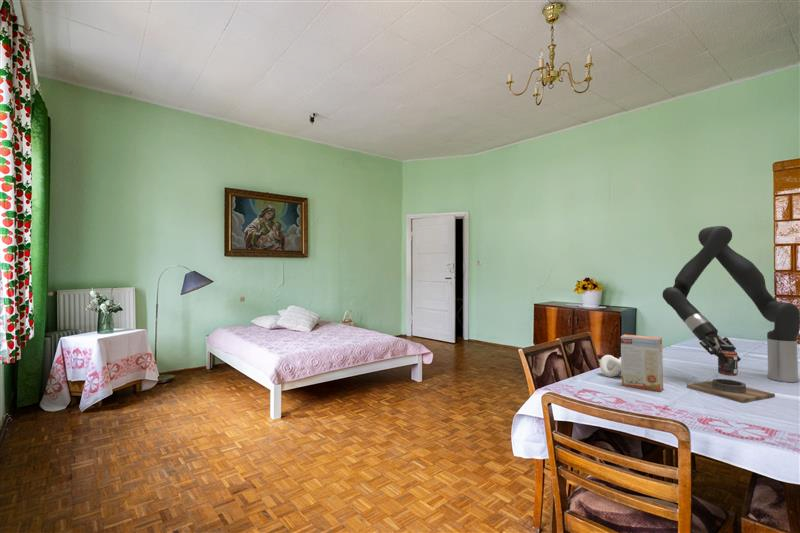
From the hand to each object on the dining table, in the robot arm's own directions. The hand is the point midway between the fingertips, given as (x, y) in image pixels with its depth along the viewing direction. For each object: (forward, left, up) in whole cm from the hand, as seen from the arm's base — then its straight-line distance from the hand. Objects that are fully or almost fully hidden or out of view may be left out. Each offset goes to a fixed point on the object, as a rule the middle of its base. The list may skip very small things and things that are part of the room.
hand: (732, 361), depth 154 cm
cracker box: (+25, -19, -12) cm, 33 cm away
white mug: (+21, -35, -12) cm, 42 cm away
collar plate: (0, -2, -12) cm, 12 cm away
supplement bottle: (0, -2, -5) cm, 6 cm away
